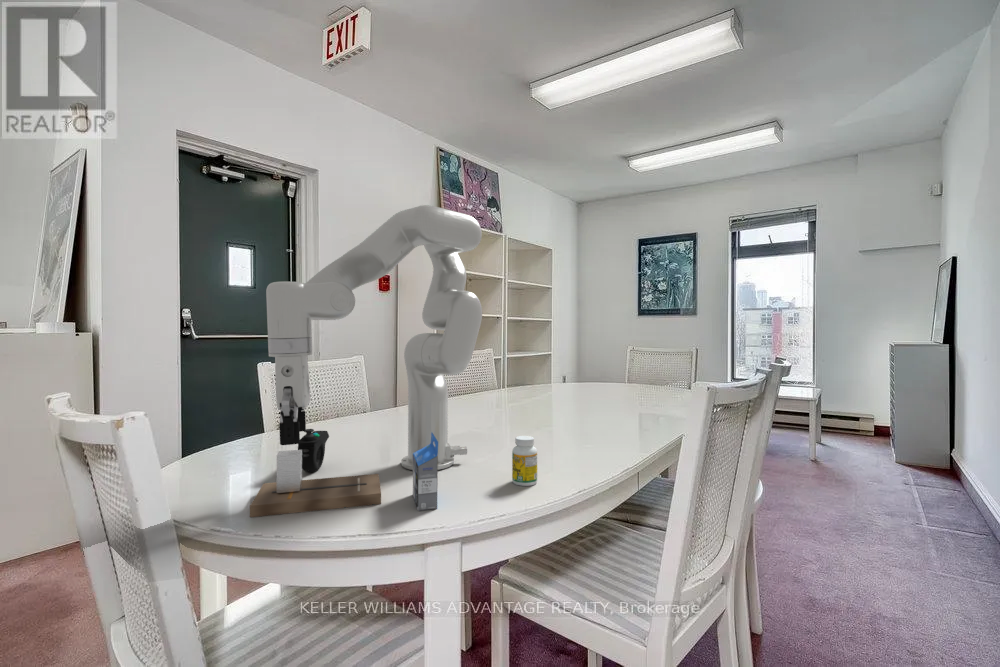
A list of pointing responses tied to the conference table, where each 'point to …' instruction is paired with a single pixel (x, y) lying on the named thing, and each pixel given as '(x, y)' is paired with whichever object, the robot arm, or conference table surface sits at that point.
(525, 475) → the supplement bottle
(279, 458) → the fader tab
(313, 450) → the controller
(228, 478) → the conference table surface
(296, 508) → the fader console
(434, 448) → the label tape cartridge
